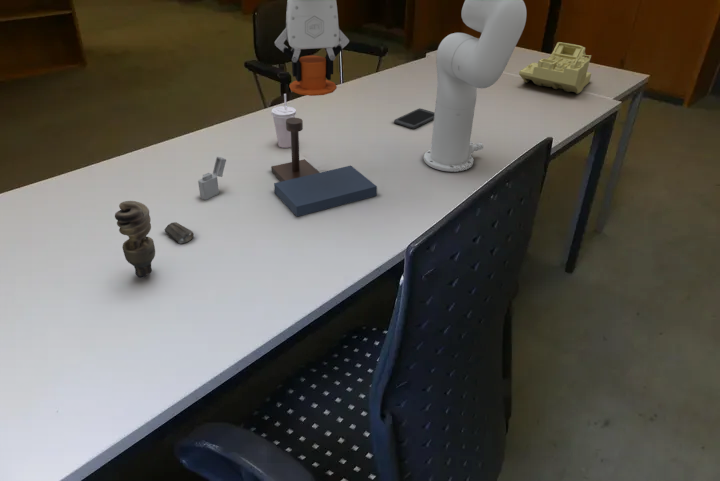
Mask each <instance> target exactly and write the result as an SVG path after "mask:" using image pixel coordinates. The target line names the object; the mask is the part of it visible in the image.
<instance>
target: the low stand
mask: <svg viewBox="0 0 720 481" xmlns="http://www.w3.org/2000/svg"><path fill="white" fill-rule="evenodd" d="M319 172H320V173H316V174H312V175H307V176H303V177H299V178H294V179H290V180H286V181H278V182H274V183H273V186H274V188H273V189H274V194H275V195H276V196H277V197H278V198H279V199H280V200H281V201H282V202H283V204H284V205H286V207H287V208H288V209H289V210H290V211H291V213H293V214H294V215H295V216H296V217H300V216H304V215H309V214H313V213H316V212H321V211H325V210H327V209H332V208H335V207H339V206H342V205H347V204H350V203H354V202H355V203H356V202H357V201H358V202H359V201H362V200H366V199H370V198H373V197H376V196H377V191H378V187H377V185H376V184H375V183H374V182H372V181H371V180H370V179H368V178H367V177H366V176H365V175H364V174H362V173H361V172H360V171H359V170H357V169H356V168H355V167H353V165H347V166H343V167H337V168H333V169H330V170H329V169H328V170H325V171H319Z"/></svg>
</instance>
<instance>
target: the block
mask: <svg viewBox="0 0 720 481" xmlns="http://www.w3.org/2000/svg"><path fill="white" fill-rule="evenodd" d="M164 232H165V233H166V234H167V235H168V236H170V238H172V239H173V240H174V241H175V242H176V243H177V244H185V243H188V242H190V241H192V239H193V237H194V232H193V231H192V230H191V229H189V228H187V227H185V226H183V225H182V224H181V223H179V222H176V221H175V222H171V223H169V224H168V225H167V226H166V227H165V228H164Z"/></svg>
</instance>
